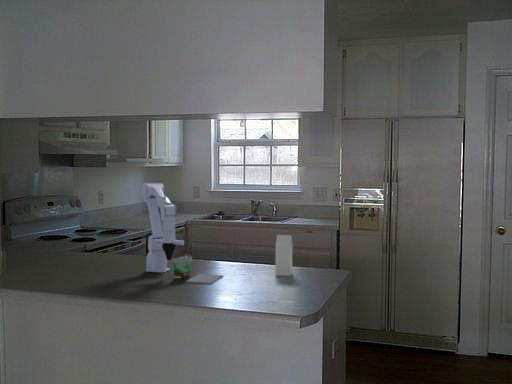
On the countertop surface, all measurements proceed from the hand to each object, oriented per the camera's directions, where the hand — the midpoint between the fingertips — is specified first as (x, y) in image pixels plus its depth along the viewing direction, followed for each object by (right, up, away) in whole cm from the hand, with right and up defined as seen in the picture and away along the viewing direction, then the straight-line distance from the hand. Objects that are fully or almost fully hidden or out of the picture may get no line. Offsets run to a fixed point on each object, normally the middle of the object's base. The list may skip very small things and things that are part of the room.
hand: (169, 259), depth 248 cm
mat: (+17, -8, -5) cm, 20 cm away
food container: (+8, -8, -2) cm, 11 cm away
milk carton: (+54, -8, +6) cm, 55 cm away
